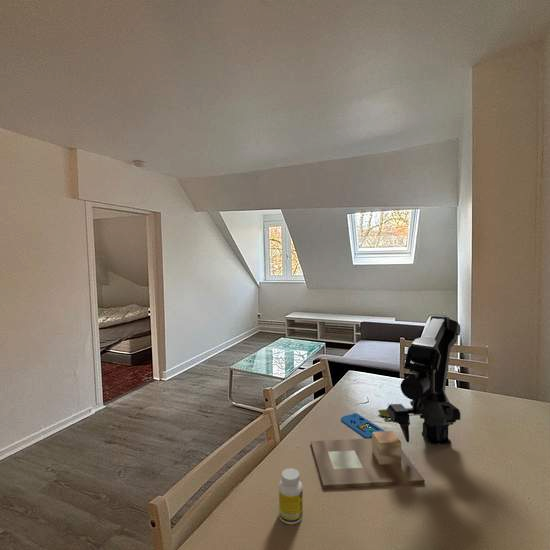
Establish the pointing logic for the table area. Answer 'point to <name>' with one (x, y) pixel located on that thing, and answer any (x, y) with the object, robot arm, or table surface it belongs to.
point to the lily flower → (385, 414)
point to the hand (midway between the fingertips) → (423, 441)
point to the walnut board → (359, 465)
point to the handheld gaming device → (360, 425)
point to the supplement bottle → (290, 497)
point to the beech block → (386, 447)
